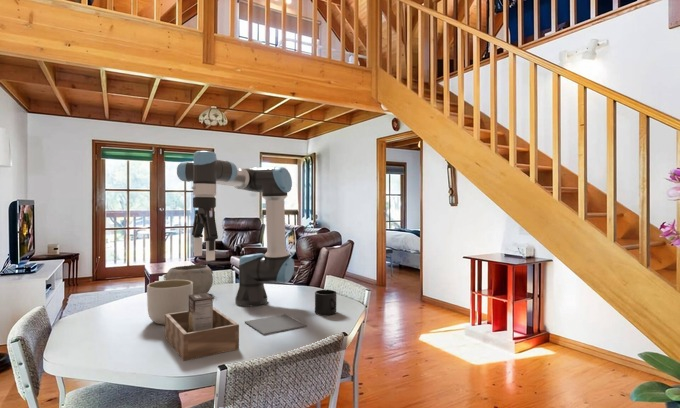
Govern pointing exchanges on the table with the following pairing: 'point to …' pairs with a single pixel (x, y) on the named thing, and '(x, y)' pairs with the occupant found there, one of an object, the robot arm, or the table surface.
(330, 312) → the mug
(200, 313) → the coffee box
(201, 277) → the bowl
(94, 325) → the table surface
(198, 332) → the crate
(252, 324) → the mat
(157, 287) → the planter
